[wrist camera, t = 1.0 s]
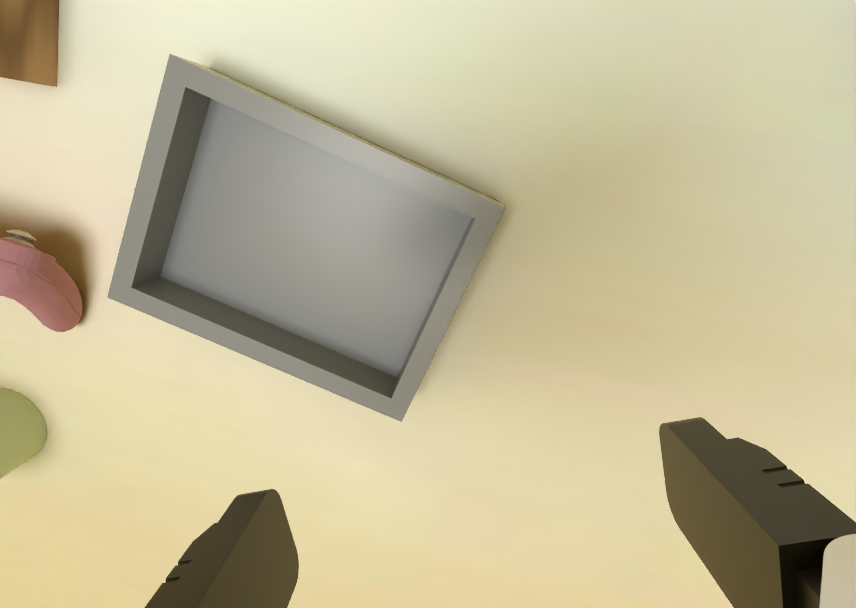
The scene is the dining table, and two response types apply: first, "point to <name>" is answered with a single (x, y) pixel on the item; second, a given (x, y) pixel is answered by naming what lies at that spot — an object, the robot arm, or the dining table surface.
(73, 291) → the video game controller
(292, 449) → the dining table surface
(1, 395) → the sage cylinder
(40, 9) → the walnut cube
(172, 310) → the charcoal tray
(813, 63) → the dining table surface
